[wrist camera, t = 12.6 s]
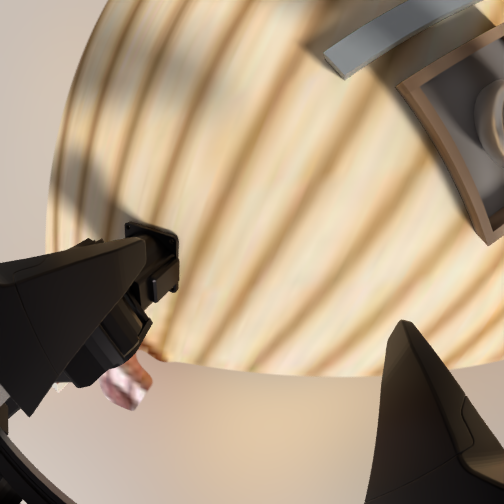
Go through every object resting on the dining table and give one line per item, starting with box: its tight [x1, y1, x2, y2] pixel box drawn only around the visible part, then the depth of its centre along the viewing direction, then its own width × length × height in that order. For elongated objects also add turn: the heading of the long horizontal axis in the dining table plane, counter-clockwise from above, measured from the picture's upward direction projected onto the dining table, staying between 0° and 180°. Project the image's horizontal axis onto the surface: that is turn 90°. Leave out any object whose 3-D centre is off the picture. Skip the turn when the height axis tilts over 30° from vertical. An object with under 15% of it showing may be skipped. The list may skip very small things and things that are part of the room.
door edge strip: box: [323, 0, 482, 80], centre depth 10 cm, size 18×2×2 cm, turn 132°
